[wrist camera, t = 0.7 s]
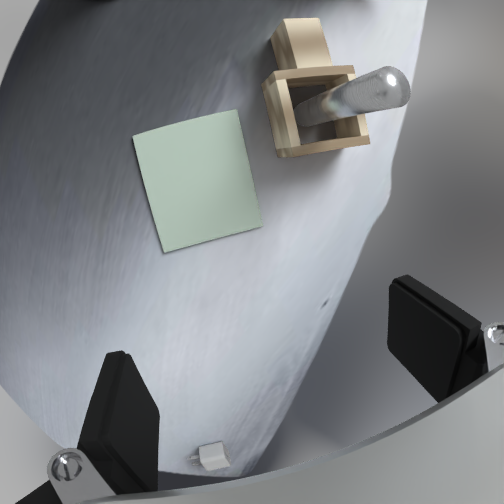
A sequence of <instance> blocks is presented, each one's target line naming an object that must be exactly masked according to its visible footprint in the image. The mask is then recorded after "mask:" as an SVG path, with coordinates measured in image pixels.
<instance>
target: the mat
mask: <svg viewBox="0 0 504 504" xmlns="http://www.w3.org/2000/svg"><path fill="white" fill-rule="evenodd" d="M133 140H134V145H135V149H136V153H137V157H138V161H139V165H140V169H141V173H142V177H143V181H144V185H145V188H146V192H147V196H148V199H149V203H150V207H151V210H152V214H153V217H154V221H155V224H156V227H157V231H158V234H159V237H160V241H161V244H162V247H163V250H164V253H165V252H169V251H172V250H176V249H180V248H183V247H187V246H191V245H194V244H198V243H202V242H205V241H209V240H213V239H216V238H220V237H224V236H228V235H231V234H235V233H239V232H243V231H247V230H250V229H254V228H258V227H262V226H263V223H262V219H261V214H260V209H259V205H258V200H257V196H256V191H255V187H254V182H253V178H252V173H251V169H250V165H249V160H248V156H247V151H246V147H245V143H244V138H243V134H242V130H241V125H240V121H239V117H238V112H237V109H235V110H230V111H225V112H220V113H216V114H211V115H207V116H203V117H199V118H195V119H191V120H187V121H183V122H179V123H175V124H172V125H168V126H164V127H161V128H157V129H154V130H151V131H147V132H144V133H141V134H138V135H135V136H133Z"/></svg>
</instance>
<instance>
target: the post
mask: <svg viewBox="0 0 504 504" xmlns="http://www.w3.org/2000/svg"><path fill="white" fill-rule="evenodd" d="M409 98H410V86H409V83H408V80H407V78H406V77H405V75H404V74H403V73H402V72H401V71H400V70H398V69H397V68H394V67H391V66H386V67H383V68H380V69H378V70H375V71H373V72H370V73H368V74H365V75H363V76H360V77H358V78H355V79H353V80H351V81H348V82H346V83H344V84H341V85H339V86H337V87H334V88H332V89H330V90H328V91H326V92H323V93H321V94H319V95H317V96H315V97H313V98H310V99H308V100H306V101H304V102H302V103H300V104H298V105H297V106H296V107H295V109H294V116H295V120H296V122H297V123H298V124H300V125H302V126H306V127H307V126H312V125H316V124H320V123H324V122H328V121H333V120H337V119H342V118H346V117H351V116H355V115H360V114H365V113H370V112H375V111H381V110H386V109H392V108H398V107H402V106H404V105H405V104H406V103H407V102H408V101H409Z"/></svg>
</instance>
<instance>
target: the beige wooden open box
mask: <svg viewBox="0 0 504 504" xmlns="http://www.w3.org/2000/svg"><path fill="white" fill-rule="evenodd" d="M270 39H271V43H272V47H273V51H274V54H275V58H276V62H277V66H278V70H279V71H273V73H272V74H271V75H270V76H269V77H268V78H267V79H266V80H265V81H264V82H263V83H262V84H261V86H262V90H263V94H264V99H265V103H266V107H267V111H268V116H269V120H270V124H271V129H272V133H273V138H274V142H275V147H276V151H277V156H278V157H297V156H302V155H308V154H313V153H318V152H324V151H330V150H335V149H341V148H347V147H354V146H360V145H367V144H370V139H369V134H368V129H367V124H366V119H365V114H360V115H355V116H351V117H346V118H342V119H337V120H333V121H334V125H335V130H336V135H337V138H335V139H329V140H323V141H317V142H311V143H305V144H300V139H299V134H298V130H297V125H296V121H295V116H294V112H293V107H292V103H291V99H290V95H289V91H288V89H290V88H298V87H306V86H316V85H325V86H326V90H327V91H328V90H330V89H332V88H334V87H337V86H339V85H341V84H344V83H346V82H348V81H351V80H353V79H355V78H356V75H355V71H354V67H353V65H345V66H333V65H332V61H331V57H330V54H329V50H328V47H327V43H326V40H325V37H324V33H323V30H322V27H321V24H320V20H319V18H294V19H283V21H282V22H281V23H280V25H279V26H278V28H277V29H276V30H275V32H274V33H273V35H272V36H271V38H270Z"/></svg>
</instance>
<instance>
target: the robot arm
mask: <svg viewBox="0 0 504 504" xmlns="http://www.w3.org/2000/svg"><path fill="white" fill-rule="evenodd" d="M480 328H481V322H480V321H478V320H477V319H475V318H474V317H473V316H471V315H470V314H468V313H467V312H465V311H464V310H462V309H461V308H459V307H458V306H456V305H455V304H453V303H452V302H450V301H449V300H447V299H445V298H444V297H443V296H441V295H439V294H438V293H436V292H435V291H433V290H431V289H430V288H429V287H427V286H425V285H424V284H422V283H421V282H419V281H417V280H416V279H414V278H413V277H411V276H409V275H404V276H401V277H398V278H395V279H394V280H393V281H392V284H391V285H390V286H389V316H388V340H387V345H388V349H389V351H390V352H391V353H392V354H393V355H394V356H395V357H396V358H397V359H398V360H399V361H400V362H401V364H402V365H403V366H404V367H405V368H406V369H407V370H408V371H409V372H410V373H411V374H412V375H413V376H414V377H415V378H416V379H417V380H418V382H419V383H420V384H421V385H422V386H423V387H424V388H425V389H426V390H427V391H428V393H430V395H431V396H432V397H433V398H434V399H435V400H436V401H437V402H438V404H436V405H435V406H433V407H431V408H429V409H427V410H426V411H424V412H422V413H420V414H419V415H416V416H414V417H412V418H411V419H409V420H407V421H405V422H403V423H401V424H399V425H397V426H394V427H393V428H390V429H388V430H386V431H384V432H382V433H380V434H377V435H375V436H373V437H370V438H368V439H366V440H363V441H361V442H359V443H356V444H354V445H352V446H349V447H346V448H344V449H341V450H338V451H336V452H333V453H330V454H328V455H325V456H322V457H319V458H316V459H313V460H310V461H307V462H304V463H300V464H297V465H294V466H290V467H287V468H283V469H280V470H276V471H272V472H269V473H265V474H261V475H256V476H252V477H248V478H244V479H238V480H233V481H228V482H223V483H218V484H211V485H205V486H198V487H191V488H184V489H176V490H167V491H157V489H158V443H159V421H160V415H159V410H158V408H157V406H156V404H155V402H154V400H153V398H152V396H151V395H150V393H149V391H148V389H147V387H146V385H145V383H144V381H143V379H142V377H141V375H140V373H139V371H138V369H137V367H136V365H135V363H134V361H133V359H132V357H131V355H130V354H125V352H124V351H116V352H110V353H107V354H106V356H105V359H104V362H103V365H102V368H101V371H100V374H99V377H98V380H97V383H96V386H95V389H94V392H93V395H92V397H91V400H90V403H89V407H88V410H87V413H86V417H85V420H84V424H83V427H82V431H81V434H80V438H79V442H78V445H77V449H76V448H67V449H63V450H61V451H59V452H57V453H56V454H55V455H54V456H53V457H52V458H51V460H50V461H49V463H48V466H47V474H48V477H49V479H50V480H48V481H47V482H45V483H44V484H43V485H41V486H40V487H38V488H37V489H36V490H34V491H33V492H31V493H30V494H28V495H27V496H25V497H24V498H23V499H21V500H20V501H18V502H17V503H15V504H504V323H503V322H496V323H492V324H489V325H488V326H487V327H486V328H485V330H484V332H483V331H482V330H481V329H480Z"/></svg>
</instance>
